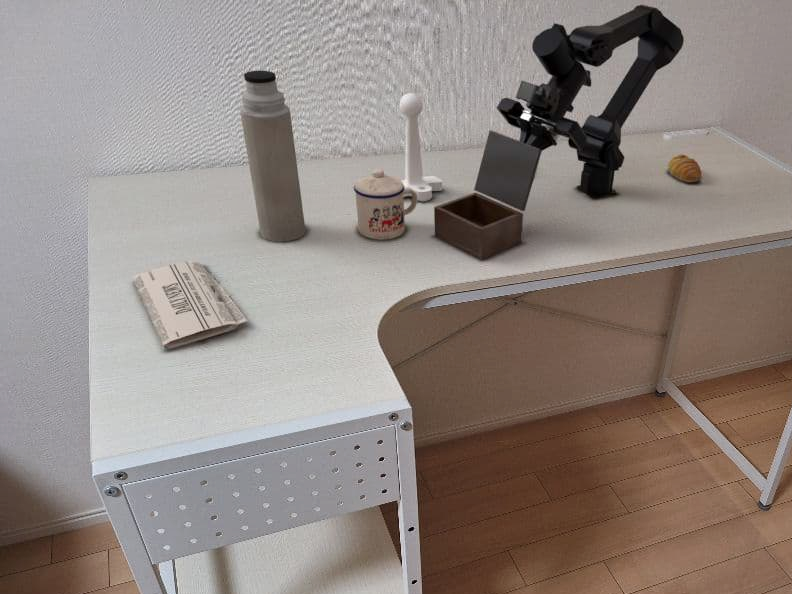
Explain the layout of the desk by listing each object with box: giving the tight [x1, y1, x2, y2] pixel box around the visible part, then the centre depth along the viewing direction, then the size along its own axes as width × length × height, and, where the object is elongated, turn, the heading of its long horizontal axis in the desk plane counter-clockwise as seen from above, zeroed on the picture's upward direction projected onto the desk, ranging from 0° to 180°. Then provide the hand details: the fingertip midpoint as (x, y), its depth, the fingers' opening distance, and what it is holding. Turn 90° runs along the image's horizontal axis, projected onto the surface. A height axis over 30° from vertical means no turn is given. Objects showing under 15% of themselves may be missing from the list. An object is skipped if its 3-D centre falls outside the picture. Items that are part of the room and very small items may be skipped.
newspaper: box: [132, 259, 248, 350], centre depth 120 cm, size 23×12×2 cm, turn 33°
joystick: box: [399, 92, 443, 203], centre depth 153 cm, size 11×8×20 cm
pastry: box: [667, 154, 702, 183], centre depth 176 cm, size 9×7×4 cm
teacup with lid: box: [353, 168, 418, 241], centre depth 142 cm, size 12×9×12 cm
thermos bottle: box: [239, 70, 306, 242], centre depth 134 cm, size 8×8×28 cm
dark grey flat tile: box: [473, 129, 543, 212], centre depth 142 cm, size 11×13×1 cm
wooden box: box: [433, 192, 524, 261], centre depth 143 cm, size 11×13×6 cm
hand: (518, 162), depth 143 cm, fingers closed
